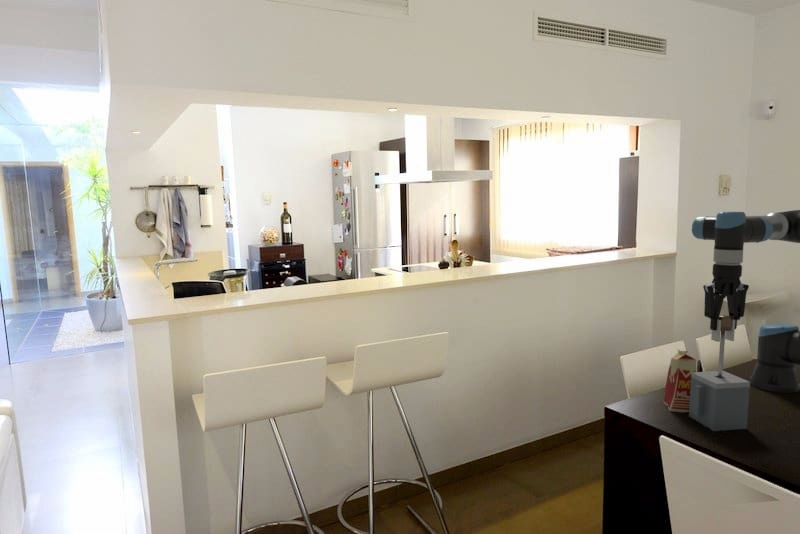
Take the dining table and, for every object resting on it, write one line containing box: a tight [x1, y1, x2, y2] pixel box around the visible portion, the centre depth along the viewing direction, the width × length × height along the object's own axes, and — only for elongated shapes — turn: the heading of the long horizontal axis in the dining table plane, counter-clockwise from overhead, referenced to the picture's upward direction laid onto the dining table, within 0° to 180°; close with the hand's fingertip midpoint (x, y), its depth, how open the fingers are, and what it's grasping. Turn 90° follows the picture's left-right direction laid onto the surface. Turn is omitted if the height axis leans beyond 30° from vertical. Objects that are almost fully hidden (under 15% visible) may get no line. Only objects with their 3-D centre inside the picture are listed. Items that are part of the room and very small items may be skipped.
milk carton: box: [662, 349, 697, 413], centre depth 181 cm, size 9×9×20 cm
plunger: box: [717, 314, 732, 378], centre depth 167 cm, size 8×8×24 cm
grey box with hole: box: [688, 370, 751, 432], centre depth 168 cm, size 13×11×14 cm
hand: (722, 340), depth 166 cm, fingers closed on plunger, 4 cm apart
